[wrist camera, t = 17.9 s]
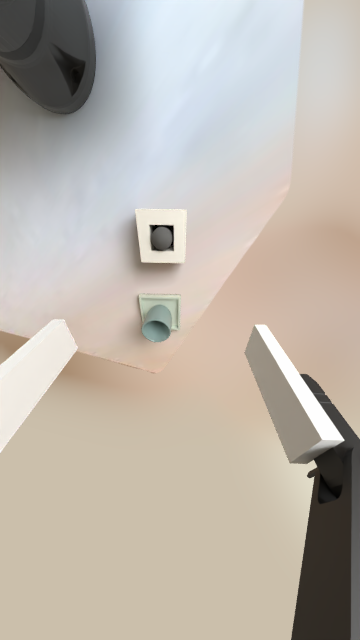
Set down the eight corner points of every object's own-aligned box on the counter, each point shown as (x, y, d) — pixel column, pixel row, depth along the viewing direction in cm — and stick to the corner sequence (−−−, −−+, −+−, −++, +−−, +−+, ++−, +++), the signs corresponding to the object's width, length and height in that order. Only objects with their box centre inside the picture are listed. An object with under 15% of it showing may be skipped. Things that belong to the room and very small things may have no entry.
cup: (143, 308, 50) (135, 328, 42) (162, 296, 48) (158, 314, 40) (158, 325, 54) (154, 346, 46) (177, 314, 51) (176, 334, 43)
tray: (139, 293, 48) (138, 296, 47) (180, 294, 48) (180, 297, 46) (144, 325, 55) (143, 329, 54) (180, 326, 55) (179, 330, 54)
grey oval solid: (155, 224, 37) (150, 227, 32) (173, 224, 37) (171, 227, 32) (156, 244, 39) (152, 249, 34) (173, 244, 39) (171, 250, 34)
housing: (141, 208, 36) (134, 209, 31) (186, 209, 36) (186, 210, 31) (146, 255, 42) (141, 262, 37) (184, 256, 42) (184, 263, 37)
